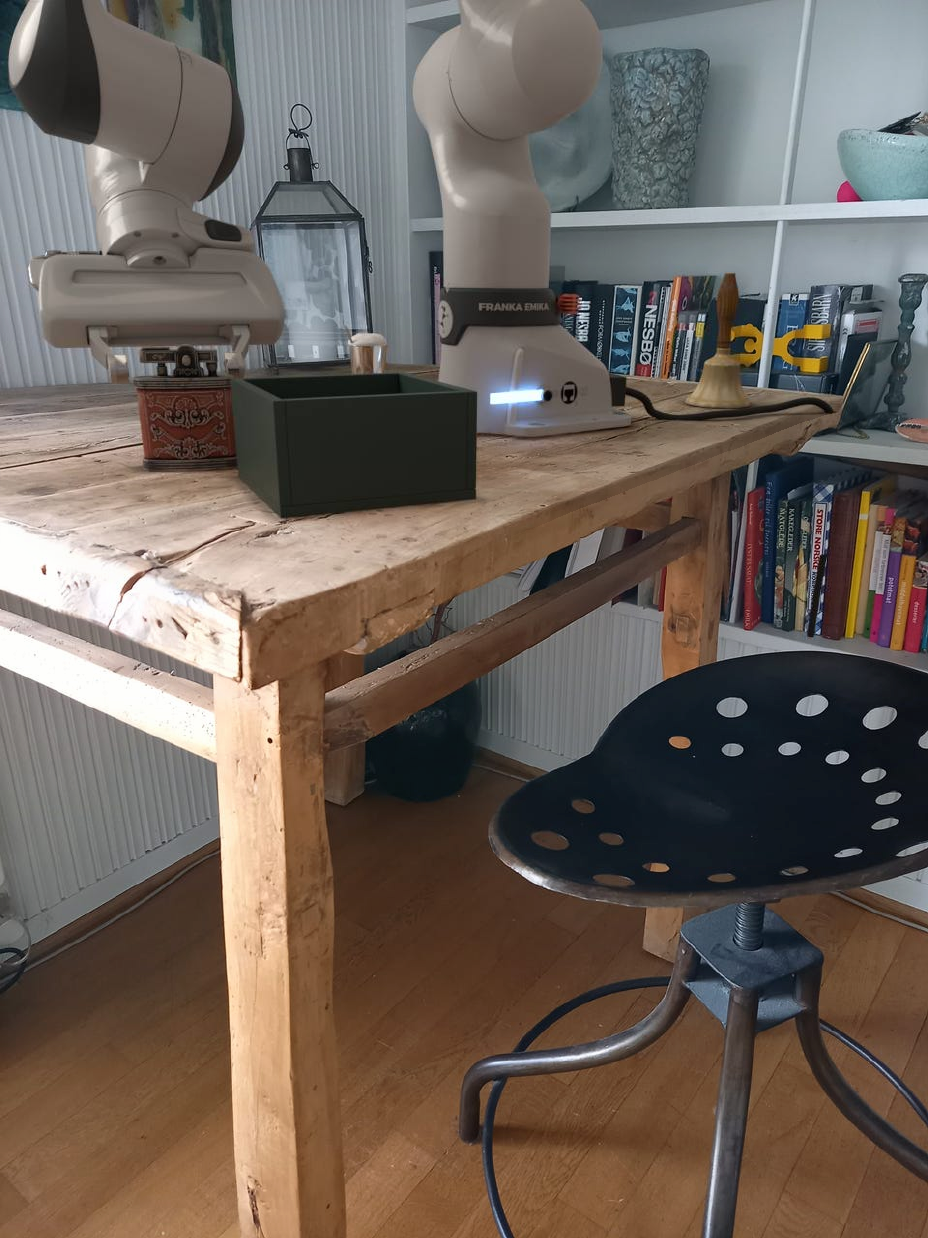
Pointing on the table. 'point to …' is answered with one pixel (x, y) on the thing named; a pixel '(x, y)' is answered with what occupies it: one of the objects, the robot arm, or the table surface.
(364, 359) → the milkshake
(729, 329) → the hand bell
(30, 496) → the table surface
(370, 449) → the bin
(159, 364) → the lighter
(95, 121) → the robot arm
